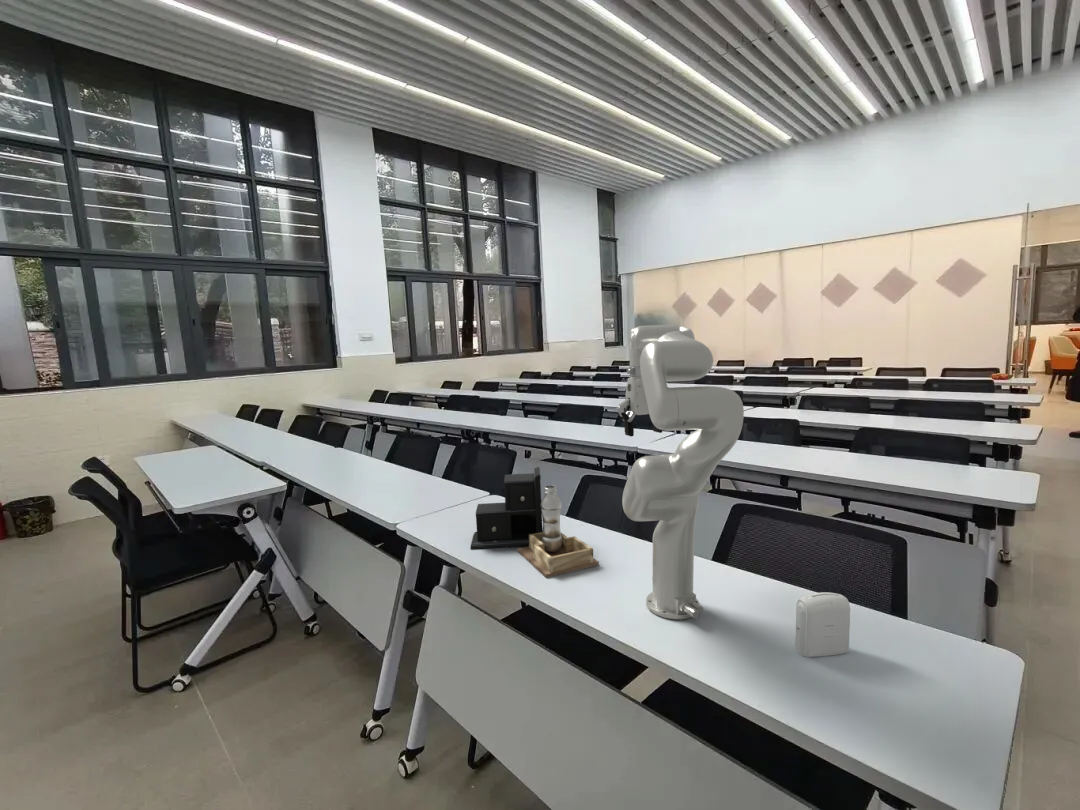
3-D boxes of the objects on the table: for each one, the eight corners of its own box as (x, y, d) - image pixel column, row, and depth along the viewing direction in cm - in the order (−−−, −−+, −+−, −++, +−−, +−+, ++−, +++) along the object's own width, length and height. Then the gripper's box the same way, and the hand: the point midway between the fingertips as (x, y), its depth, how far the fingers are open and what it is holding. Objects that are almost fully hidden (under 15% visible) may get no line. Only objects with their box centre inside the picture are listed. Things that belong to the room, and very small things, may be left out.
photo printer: (804, 659, 101) (806, 601, 99) (791, 647, 105) (793, 590, 103) (852, 655, 102) (855, 597, 100) (837, 642, 106) (840, 587, 104)
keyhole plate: (598, 564, 146) (598, 548, 145) (546, 577, 139) (545, 560, 138) (565, 541, 164) (565, 526, 163) (517, 551, 156) (517, 536, 156)
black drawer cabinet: (470, 549, 159) (466, 477, 156) (473, 536, 170) (470, 468, 167) (543, 546, 160) (541, 474, 157) (542, 534, 171) (540, 466, 168)
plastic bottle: (561, 545, 158) (560, 483, 156) (563, 554, 151) (562, 489, 149) (541, 546, 158) (539, 484, 155) (541, 555, 151) (540, 490, 149)
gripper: (625, 374, 131) (625, 439, 134) (677, 371, 139) (677, 432, 141) (609, 373, 138) (610, 434, 140) (660, 370, 145) (659, 429, 148)
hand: (643, 433), depth 141 cm, fingers open, 9 cm apart
